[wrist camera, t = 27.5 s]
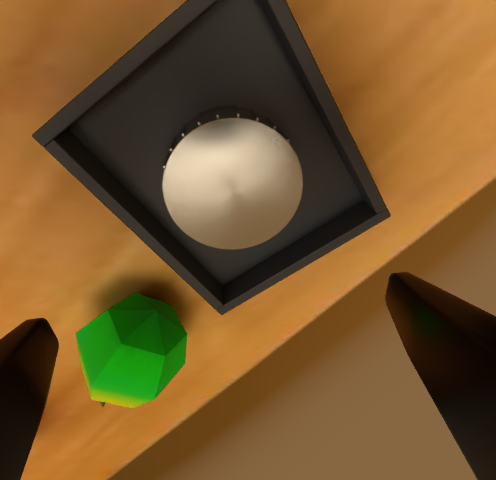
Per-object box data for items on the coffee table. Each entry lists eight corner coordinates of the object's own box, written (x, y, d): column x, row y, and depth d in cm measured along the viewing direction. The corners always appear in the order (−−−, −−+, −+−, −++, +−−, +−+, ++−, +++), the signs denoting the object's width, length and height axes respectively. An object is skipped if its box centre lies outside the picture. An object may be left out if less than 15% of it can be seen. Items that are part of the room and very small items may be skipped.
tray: (52, 123, 16) (30, 135, 14) (249, -47, 13) (256, -61, 11) (220, 290, 22) (221, 315, 20) (373, 198, 20) (391, 216, 18)
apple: (136, 381, 15) (78, 479, 18) (227, 337, 20) (168, 421, 23) (67, 272, 18) (30, 376, 21) (161, 259, 23) (118, 344, 26)
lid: (139, 155, 16) (128, 174, 14) (249, 75, 15) (256, 82, 13) (216, 244, 20) (217, 271, 17) (313, 185, 18) (327, 205, 16)
